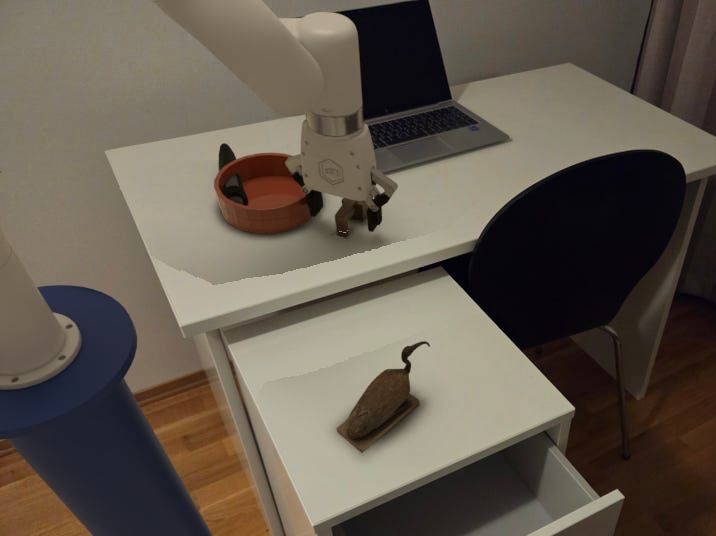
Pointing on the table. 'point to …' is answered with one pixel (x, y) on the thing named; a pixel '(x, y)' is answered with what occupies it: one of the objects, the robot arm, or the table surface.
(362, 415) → the figurine
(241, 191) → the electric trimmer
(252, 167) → the bowl
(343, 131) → the robot arm
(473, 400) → the table surface
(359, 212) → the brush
